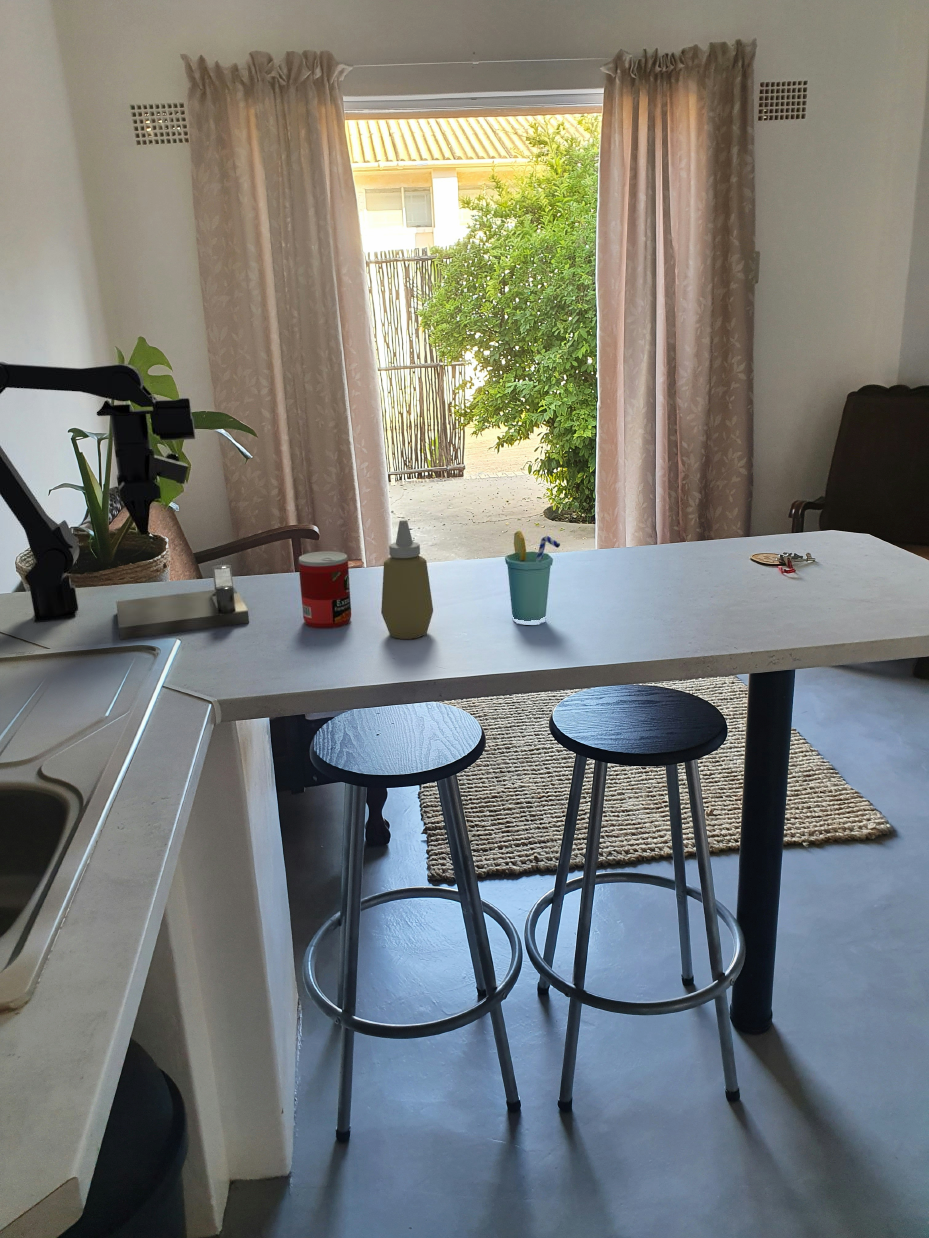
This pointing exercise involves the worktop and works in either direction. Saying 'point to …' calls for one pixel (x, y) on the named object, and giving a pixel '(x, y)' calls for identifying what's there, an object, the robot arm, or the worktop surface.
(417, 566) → the squeeze bottle
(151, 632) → the wooden board
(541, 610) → the cup
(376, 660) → the worktop surface
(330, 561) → the canned food
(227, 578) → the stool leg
